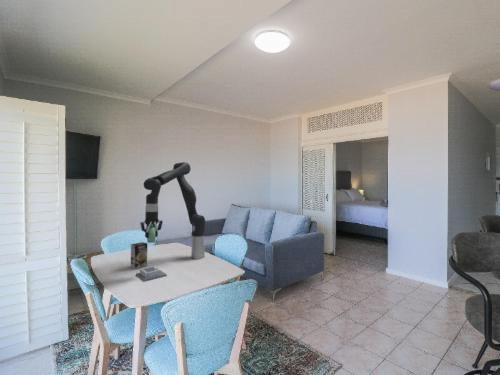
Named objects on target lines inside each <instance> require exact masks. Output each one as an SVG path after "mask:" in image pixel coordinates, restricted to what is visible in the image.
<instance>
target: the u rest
mask: <svg viewBox="0 0 500 375" xmlns="http://www.w3.org/2000/svg"><path fill="white" fill-rule="evenodd" d="M167 275H168V274H167V273H166V272H164V271H162V270H161V269H159V268H155V266H154V265H150V266H146V267H142V268H139V272H136V273H135V276H136V277H138V278H139V279H141V280H142V281H143V282H149V281H152V280H156V279H160V278H164V277H167Z"/></svg>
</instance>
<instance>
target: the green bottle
mask: <svg viewBox="0 0 500 375" xmlns="http://www.w3.org/2000/svg"><path fill="white" fill-rule="evenodd" d="M155 234H156V228H155V227H153V224H151V227H150V229H149V231H148V238H146V239H147V240H146V241H147V242H146V243H147V244H152V243H156V237H155Z"/></svg>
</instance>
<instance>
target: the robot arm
mask: <svg viewBox="0 0 500 375" xmlns="http://www.w3.org/2000/svg"><path fill="white" fill-rule="evenodd" d="M191 171H192V170H191V165H190V164H189V162H185V161H184V162H176V163H174V164H173V168H172V169H171V170H167V171H164V172H162V173H160V174H158V175H155V176H153V177H150V178H147V179H145V180H144V182H143V188H144V189H146V190H148V191H150V193H148V194H146V196H145V214H144V215H145V216H144V218H145V219H144V221H140V222H139V224H140V228H141V232H144V237H145V239H147V238H148V231H149V229H150V227H151V224H153V227H155V228H156V234H155V238H157V237H158V234H159V231H161V229H162V227H163V226H162V225H163V220H161V219H160V220H159V194H160V191H161V188H162V186H164V185H166V184H167V183H170V182H171V181H174V180H176V181H177V183H178V186H179V188H180V191H181V194H182V199H183V201H184V204H185V207H186V210H187V216H188V221H189V224H190V225H191V226H192V227H194V230H193V231H192V232H191V255H190V256H191V259H193V260H200V259H204V258H205V253H206V252H205V251H206V249H205V246H206V245H205V244H204V242H205V240H204V238H205V236H204V235H205V232H206V219H205V216H204V215H201V214H198V212H197V208H196V205H197V196H196V195H197V194H196V191H195V189H194V188H193V187H192V186H191V184H190V183H189V182H188V181H187V179H186V177H185V176H187V175H188V174H190V172H191ZM145 225H146V226H145Z"/></svg>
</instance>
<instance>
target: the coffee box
mask: <svg viewBox="0 0 500 375" xmlns="http://www.w3.org/2000/svg"><path fill="white" fill-rule="evenodd" d="M146 267H148V242H142V241H141V242H136V243H132V244H130V268H131V269H134V270H138V269H141V268H146Z"/></svg>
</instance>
